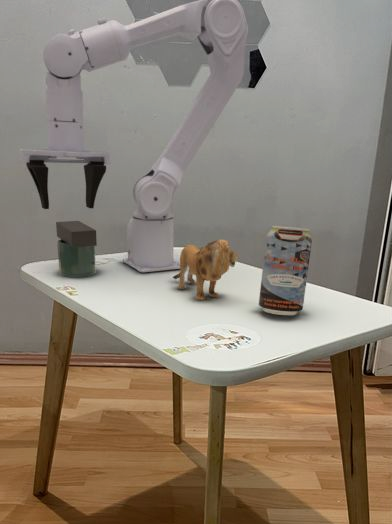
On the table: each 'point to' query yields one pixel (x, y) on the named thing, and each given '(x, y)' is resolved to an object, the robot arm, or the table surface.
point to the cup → (76, 260)
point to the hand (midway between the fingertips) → (68, 207)
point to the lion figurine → (206, 265)
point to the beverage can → (285, 270)
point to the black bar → (76, 233)
